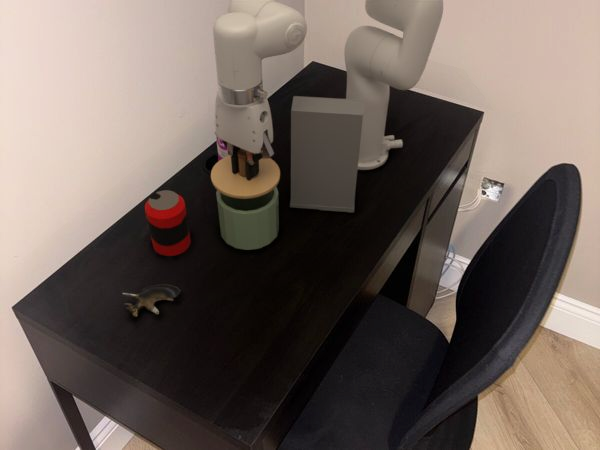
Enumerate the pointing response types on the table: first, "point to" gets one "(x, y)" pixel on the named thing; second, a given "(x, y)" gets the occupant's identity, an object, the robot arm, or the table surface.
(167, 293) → the eagle figurine
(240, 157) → the lid
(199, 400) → the table surface
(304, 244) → the table surface
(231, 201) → the canister
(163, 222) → the soda can
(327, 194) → the tall grey box
